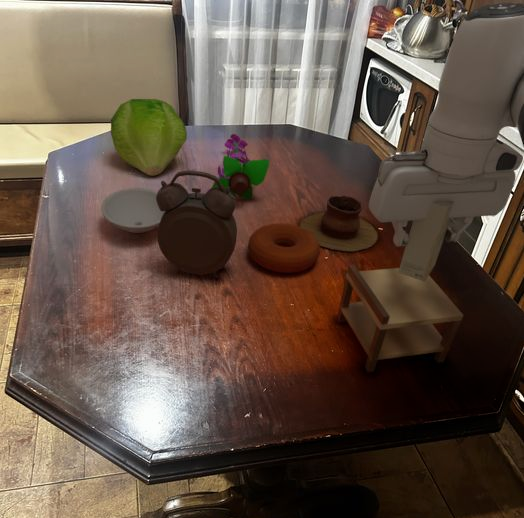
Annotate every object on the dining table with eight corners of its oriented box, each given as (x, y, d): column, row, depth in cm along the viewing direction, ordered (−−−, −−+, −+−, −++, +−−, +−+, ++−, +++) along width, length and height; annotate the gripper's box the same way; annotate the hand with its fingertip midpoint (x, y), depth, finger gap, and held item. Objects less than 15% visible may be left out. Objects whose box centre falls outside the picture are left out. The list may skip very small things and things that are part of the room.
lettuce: (104, 177, 127) (139, 137, 116) (98, 113, 133) (131, 68, 122) (162, 198, 139) (199, 163, 128) (154, 138, 145) (189, 100, 134)
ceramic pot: (333, 205, 126) (338, 178, 121) (393, 235, 117) (401, 206, 113) (283, 227, 116) (286, 198, 111) (344, 261, 107) (351, 231, 102)
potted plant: (221, 225, 122) (217, 174, 150) (283, 193, 119) (268, 147, 146) (194, 179, 115) (196, 135, 142) (260, 144, 112) (248, 105, 139)
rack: (406, 311, 96) (423, 258, 88) (443, 362, 86) (467, 307, 78) (336, 318, 93) (348, 264, 85) (367, 372, 83) (383, 316, 75)
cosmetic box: (424, 282, 77) (450, 208, 69) (396, 273, 78) (418, 198, 70) (435, 264, 81) (461, 191, 73) (408, 255, 83) (430, 183, 75)
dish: (104, 209, 116) (101, 188, 112) (168, 207, 119) (167, 187, 115) (104, 250, 103) (100, 228, 100) (176, 247, 106) (175, 225, 103)
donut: (283, 232, 114) (285, 212, 111) (332, 262, 107) (337, 241, 103) (232, 253, 106) (233, 231, 103) (281, 287, 99) (284, 265, 95)
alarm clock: (237, 264, 103) (242, 167, 90) (231, 285, 98) (235, 185, 84) (166, 255, 104) (160, 157, 90) (156, 275, 98) (149, 174, 85)
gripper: (394, 162, 63) (370, 258, 72) (534, 157, 68) (494, 248, 77) (373, 142, 67) (353, 236, 76) (506, 139, 72) (472, 227, 81)
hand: (425, 242), depth 77 cm, fingers closed on cosmetic box, 7 cm apart
